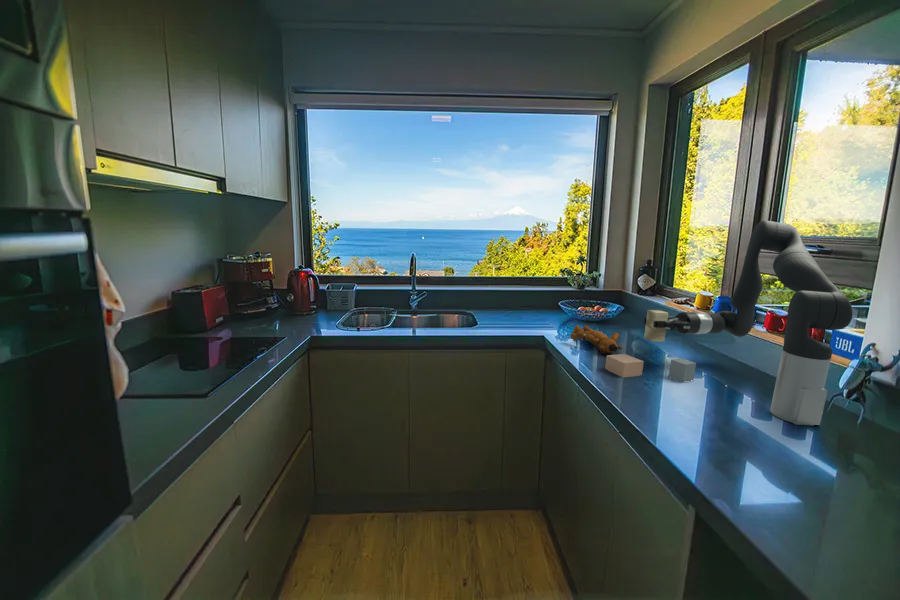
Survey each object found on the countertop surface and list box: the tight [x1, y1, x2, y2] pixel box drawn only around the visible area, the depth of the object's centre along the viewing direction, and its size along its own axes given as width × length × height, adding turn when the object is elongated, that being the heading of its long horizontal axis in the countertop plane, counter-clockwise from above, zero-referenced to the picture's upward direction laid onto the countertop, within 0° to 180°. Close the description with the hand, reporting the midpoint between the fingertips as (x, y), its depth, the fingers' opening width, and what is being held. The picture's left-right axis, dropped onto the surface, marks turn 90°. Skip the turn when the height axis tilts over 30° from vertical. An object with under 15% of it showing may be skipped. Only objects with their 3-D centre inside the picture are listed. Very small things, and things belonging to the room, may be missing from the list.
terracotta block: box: [604, 353, 645, 378], centre depth 131 cm, size 8×8×5 cm
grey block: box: [668, 357, 697, 383], centre depth 127 cm, size 5×5×6 cm
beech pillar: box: [643, 309, 669, 343], centre depth 135 cm, size 4×4×10 cm
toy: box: [570, 325, 624, 355], centre depth 161 cm, size 20×7×30 cm
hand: (649, 322), depth 134 cm, fingers closed on beech pillar, 4 cm apart
